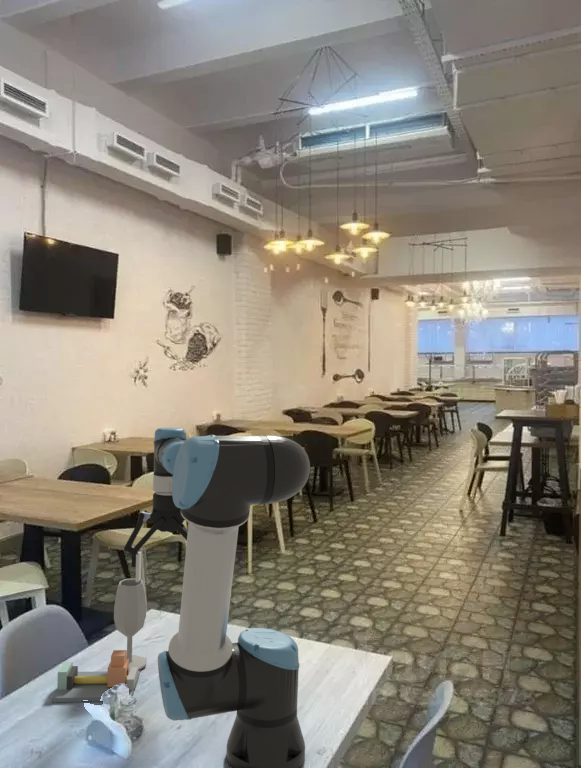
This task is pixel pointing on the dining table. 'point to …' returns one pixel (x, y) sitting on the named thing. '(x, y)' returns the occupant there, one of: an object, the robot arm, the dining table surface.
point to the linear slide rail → (87, 684)
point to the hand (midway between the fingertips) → (166, 580)
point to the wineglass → (130, 615)
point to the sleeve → (118, 668)
